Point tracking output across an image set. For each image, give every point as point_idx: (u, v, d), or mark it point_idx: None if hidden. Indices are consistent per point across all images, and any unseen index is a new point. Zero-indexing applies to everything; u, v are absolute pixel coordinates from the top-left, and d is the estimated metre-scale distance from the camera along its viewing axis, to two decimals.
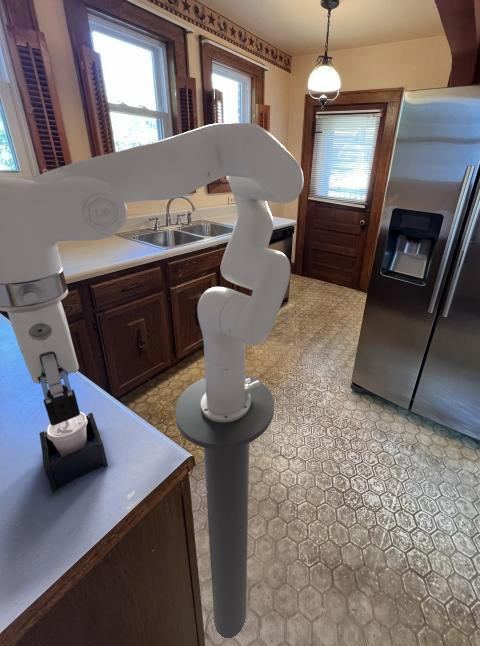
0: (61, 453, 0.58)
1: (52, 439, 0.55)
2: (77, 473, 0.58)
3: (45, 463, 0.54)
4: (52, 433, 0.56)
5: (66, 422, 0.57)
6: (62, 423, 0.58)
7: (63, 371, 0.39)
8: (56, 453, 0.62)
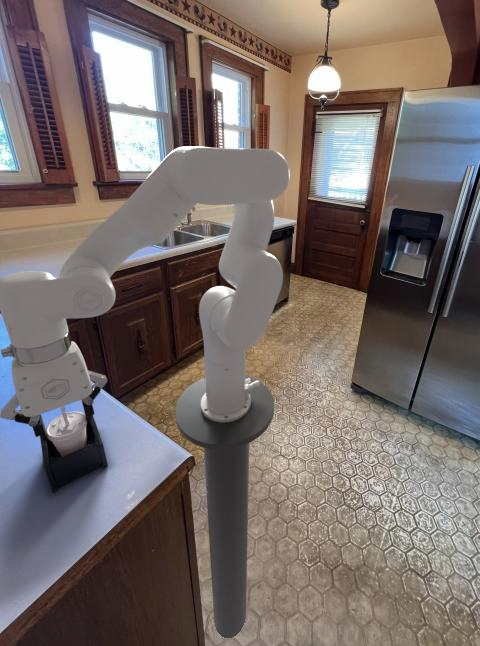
0: (61, 453, 0.58)
1: (52, 439, 0.55)
2: (77, 473, 0.58)
3: (45, 463, 0.54)
4: (52, 433, 0.56)
5: (66, 422, 0.57)
6: (62, 423, 0.58)
7: None
8: (56, 453, 0.62)
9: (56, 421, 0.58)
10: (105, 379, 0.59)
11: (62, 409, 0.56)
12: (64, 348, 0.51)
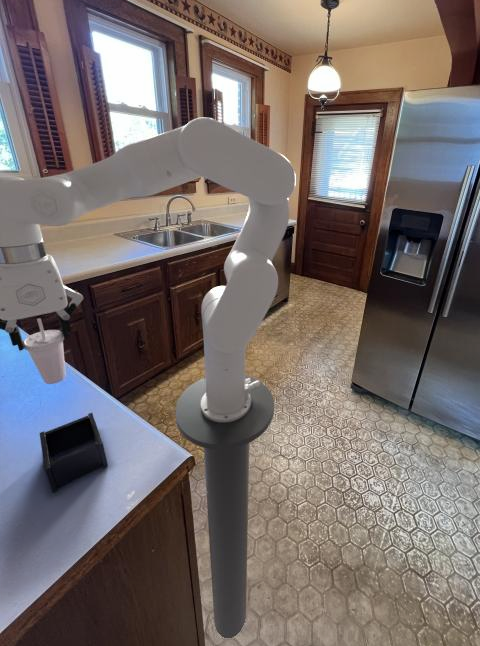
0: (38, 366, 0.60)
1: (28, 349, 0.58)
2: (77, 473, 0.58)
3: (45, 463, 0.54)
4: (29, 344, 0.58)
5: (42, 335, 0.59)
6: (39, 337, 0.60)
7: None
8: (56, 453, 0.62)
9: (34, 336, 0.61)
10: (81, 296, 0.61)
11: (38, 320, 0.58)
12: (38, 253, 0.53)
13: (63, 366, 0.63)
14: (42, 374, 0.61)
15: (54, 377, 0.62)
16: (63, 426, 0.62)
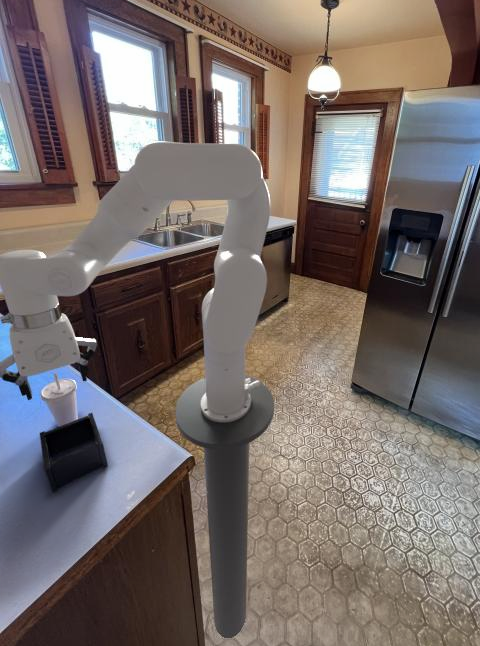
0: (54, 413, 0.66)
1: (45, 400, 0.64)
2: (77, 473, 0.58)
3: (45, 463, 0.54)
4: (46, 395, 0.64)
5: (58, 386, 0.65)
6: (54, 387, 0.66)
7: None
8: (56, 453, 0.62)
9: (50, 386, 0.67)
10: (95, 342, 0.67)
11: (54, 374, 0.64)
12: (55, 317, 0.59)
13: (75, 412, 0.69)
14: (57, 420, 0.67)
15: (67, 422, 0.68)
16: (63, 426, 0.62)
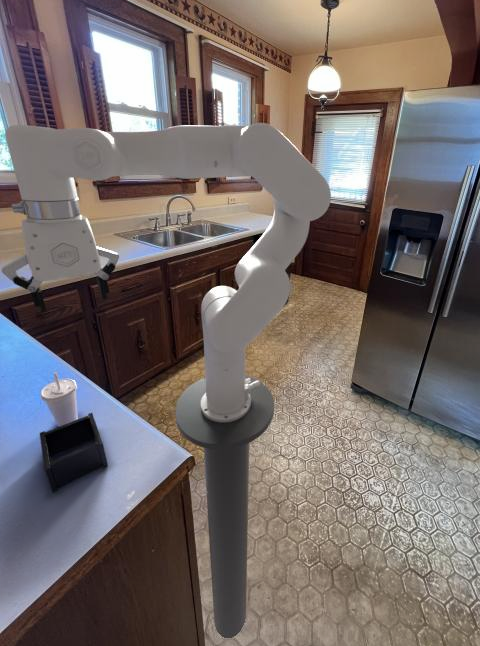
0: (54, 413, 0.66)
1: (45, 400, 0.64)
2: (77, 473, 0.58)
3: (45, 463, 0.54)
4: (46, 395, 0.64)
5: (58, 386, 0.65)
6: (54, 387, 0.66)
7: None
8: (56, 453, 0.62)
9: (50, 386, 0.67)
10: (116, 255, 0.59)
11: (54, 374, 0.64)
12: (74, 211, 0.51)
13: (75, 412, 0.69)
14: (57, 420, 0.67)
15: (67, 422, 0.68)
16: (63, 426, 0.62)
